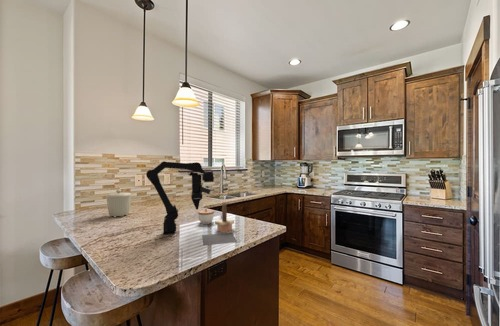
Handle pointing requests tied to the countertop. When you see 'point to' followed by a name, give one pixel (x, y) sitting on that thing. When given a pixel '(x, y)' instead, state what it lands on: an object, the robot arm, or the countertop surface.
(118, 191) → the canister
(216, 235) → the mat
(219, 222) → the disc with tall peg
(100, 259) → the countertop surface
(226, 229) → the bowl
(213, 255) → the countertop surface
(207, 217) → the lidded jar
